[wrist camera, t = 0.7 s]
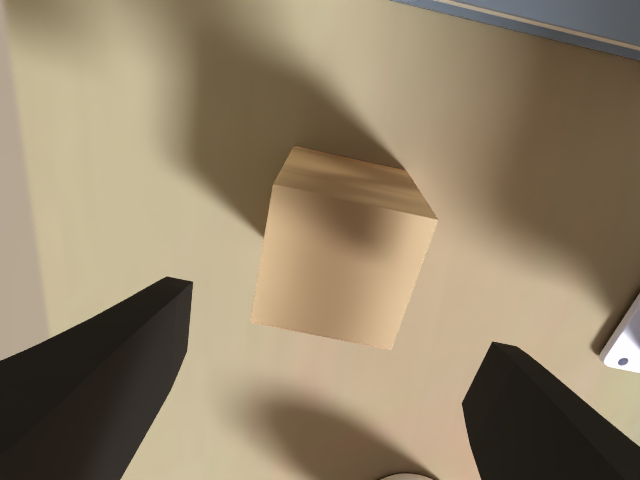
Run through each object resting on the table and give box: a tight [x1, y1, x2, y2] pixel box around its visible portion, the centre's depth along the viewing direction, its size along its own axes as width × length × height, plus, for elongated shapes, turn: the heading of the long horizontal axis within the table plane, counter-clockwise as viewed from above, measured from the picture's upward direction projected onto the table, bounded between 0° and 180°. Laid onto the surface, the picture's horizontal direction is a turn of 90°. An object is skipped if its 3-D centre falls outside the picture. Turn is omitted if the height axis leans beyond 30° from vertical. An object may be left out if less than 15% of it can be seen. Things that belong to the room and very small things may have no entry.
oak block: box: [250, 146, 438, 350], centre depth 15 cm, size 5×5×6 cm
